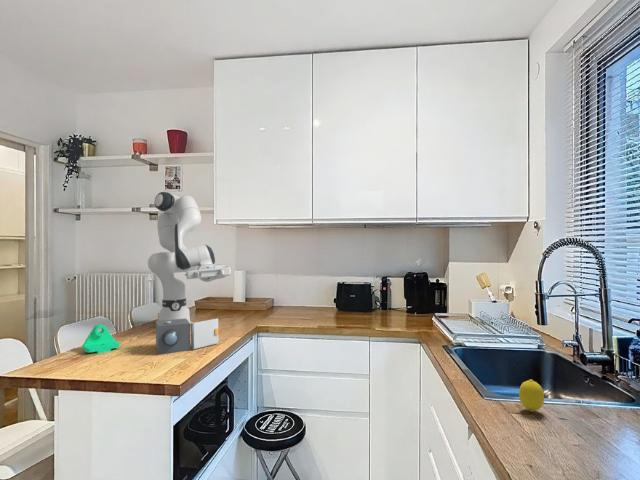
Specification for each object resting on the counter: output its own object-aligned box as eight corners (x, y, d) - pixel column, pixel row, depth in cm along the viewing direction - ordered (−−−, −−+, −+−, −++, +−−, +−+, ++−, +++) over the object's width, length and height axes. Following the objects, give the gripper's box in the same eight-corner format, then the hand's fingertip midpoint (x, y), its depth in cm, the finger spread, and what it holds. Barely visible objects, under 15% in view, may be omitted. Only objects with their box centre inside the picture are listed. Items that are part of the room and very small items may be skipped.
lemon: (523, 416, 97) (523, 382, 97) (516, 406, 102) (515, 375, 102) (548, 417, 96) (547, 383, 96) (539, 407, 101) (538, 376, 101)
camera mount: (87, 355, 155) (87, 329, 155) (82, 352, 161) (82, 326, 161) (120, 349, 163) (120, 324, 164) (114, 346, 169) (114, 322, 169)
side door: (217, 342, 171) (216, 318, 171) (219, 343, 170) (219, 318, 170) (190, 349, 160) (190, 323, 161) (192, 349, 159) (192, 323, 160)
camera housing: (155, 347, 166) (155, 319, 166) (186, 343, 171) (185, 316, 171) (158, 355, 153) (158, 325, 153) (191, 351, 158) (190, 322, 158)
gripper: (184, 268, 189) (185, 268, 176) (227, 264, 196) (232, 264, 183) (185, 281, 188) (186, 282, 176) (228, 276, 196) (233, 278, 183)
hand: (210, 273), depth 180 cm, fingers open, 8 cm apart
